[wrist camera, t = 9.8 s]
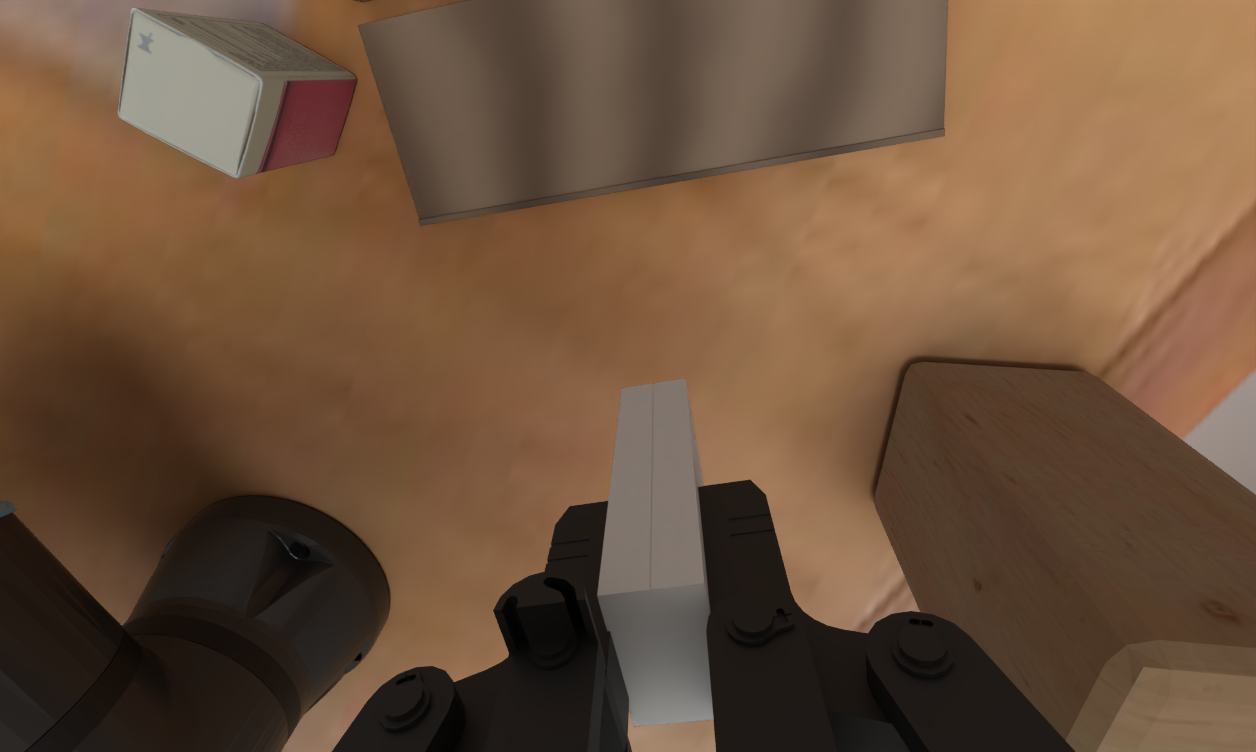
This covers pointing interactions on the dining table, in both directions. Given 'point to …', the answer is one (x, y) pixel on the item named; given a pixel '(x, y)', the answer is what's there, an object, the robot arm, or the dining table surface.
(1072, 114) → the dining table surface
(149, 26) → the small box
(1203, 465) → the wooden block
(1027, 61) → the dining table surface
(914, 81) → the plank
